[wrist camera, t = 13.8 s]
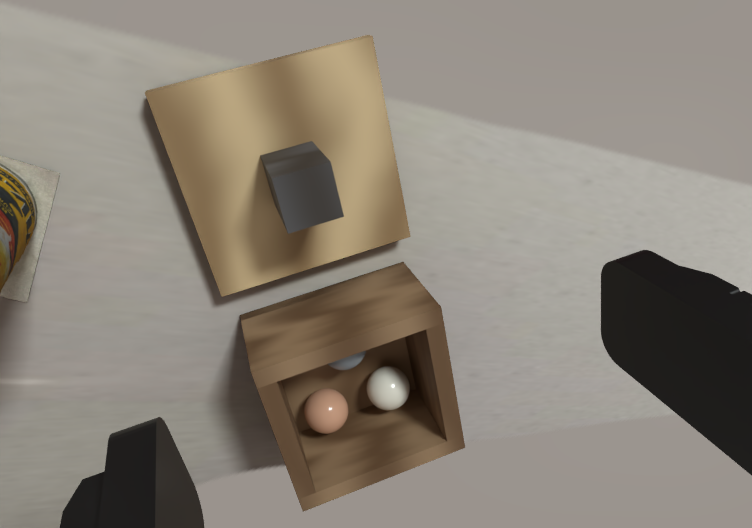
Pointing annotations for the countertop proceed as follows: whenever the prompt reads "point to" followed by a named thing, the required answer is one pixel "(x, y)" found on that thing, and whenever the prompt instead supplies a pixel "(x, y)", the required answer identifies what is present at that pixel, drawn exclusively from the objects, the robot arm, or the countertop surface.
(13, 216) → the condiment
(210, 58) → the countertop surface
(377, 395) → the ball cream
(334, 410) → the ball terracotta
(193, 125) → the lid
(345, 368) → the ball slate
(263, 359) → the box
